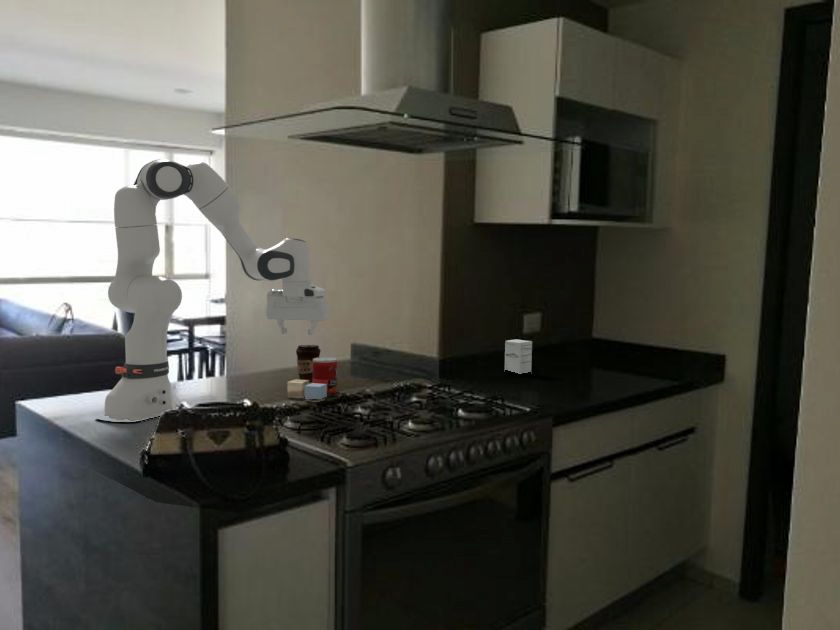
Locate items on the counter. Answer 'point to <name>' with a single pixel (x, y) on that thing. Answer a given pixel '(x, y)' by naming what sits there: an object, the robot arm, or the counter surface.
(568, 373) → the counter surface
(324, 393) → the slate block
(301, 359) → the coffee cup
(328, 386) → the canned food
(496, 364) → the counter surface
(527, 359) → the supplement box
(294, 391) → the maple block
